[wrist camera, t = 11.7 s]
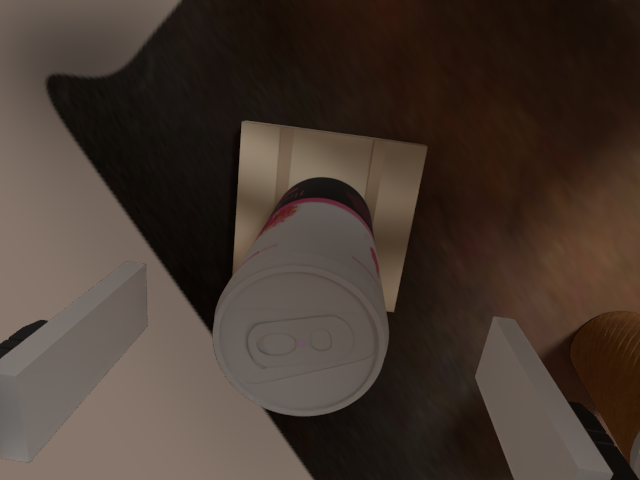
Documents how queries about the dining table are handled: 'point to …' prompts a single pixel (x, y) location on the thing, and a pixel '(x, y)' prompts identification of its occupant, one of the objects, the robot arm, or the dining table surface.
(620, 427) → the disposable coffee cup
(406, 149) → the trivet
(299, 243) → the beverage can
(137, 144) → the dining table surface
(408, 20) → the dining table surface
